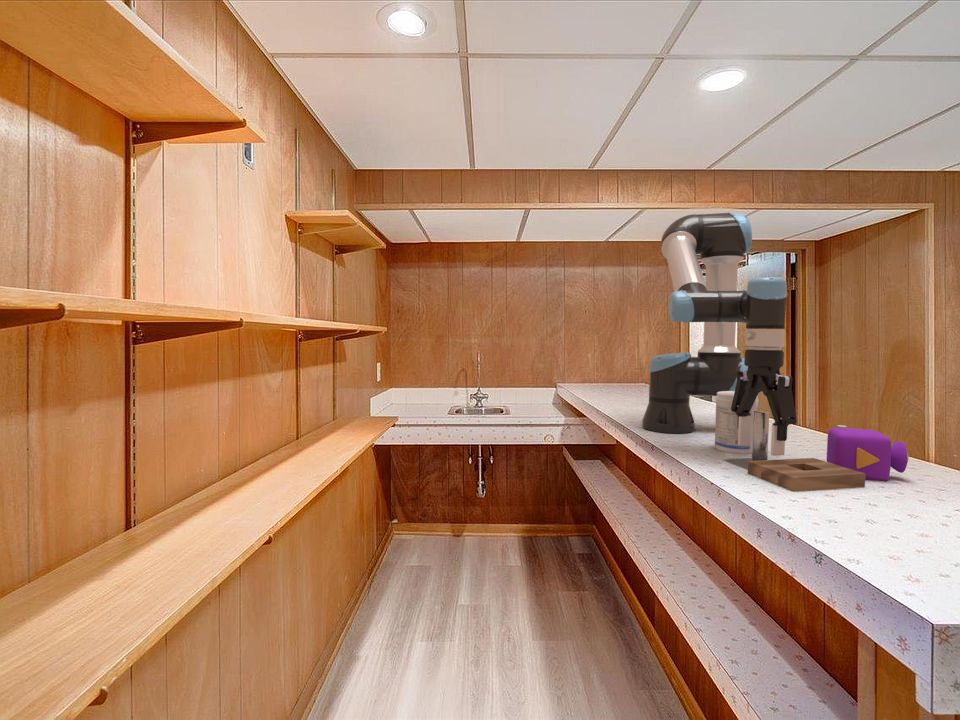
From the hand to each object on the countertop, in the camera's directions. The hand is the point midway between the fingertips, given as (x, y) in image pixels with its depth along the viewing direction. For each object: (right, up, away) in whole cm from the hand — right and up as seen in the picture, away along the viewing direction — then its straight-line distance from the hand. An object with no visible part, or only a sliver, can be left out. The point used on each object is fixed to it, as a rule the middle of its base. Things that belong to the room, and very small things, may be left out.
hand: (760, 449), depth 112 cm
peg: (0, -4, 0) cm, 4 cm away
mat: (0, -4, 0) cm, 4 cm away
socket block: (+3, -5, -10) cm, 12 cm away
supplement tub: (+2, -3, +15) cm, 16 cm away
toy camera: (+19, -5, -6) cm, 20 cm away
